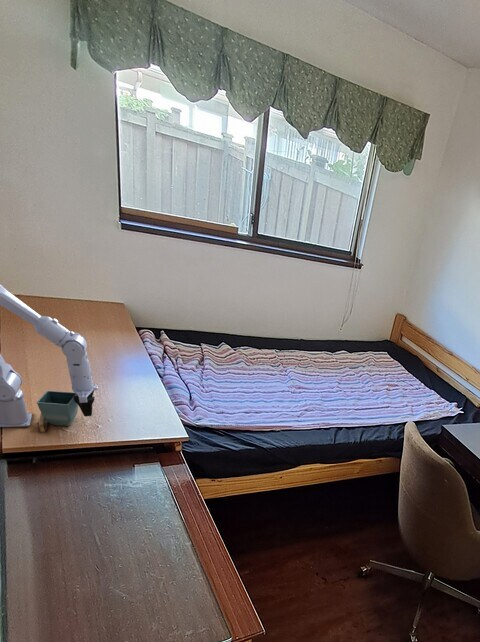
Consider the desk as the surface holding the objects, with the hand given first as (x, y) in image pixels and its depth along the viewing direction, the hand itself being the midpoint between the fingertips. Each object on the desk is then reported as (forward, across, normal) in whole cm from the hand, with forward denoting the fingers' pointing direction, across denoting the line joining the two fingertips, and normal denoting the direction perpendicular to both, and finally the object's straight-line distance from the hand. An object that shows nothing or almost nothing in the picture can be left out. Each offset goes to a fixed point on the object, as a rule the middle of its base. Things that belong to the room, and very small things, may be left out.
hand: (88, 412), depth 150 cm
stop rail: (+3, -2, +12) cm, 13 cm away
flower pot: (+4, 0, +7) cm, 8 cm away
